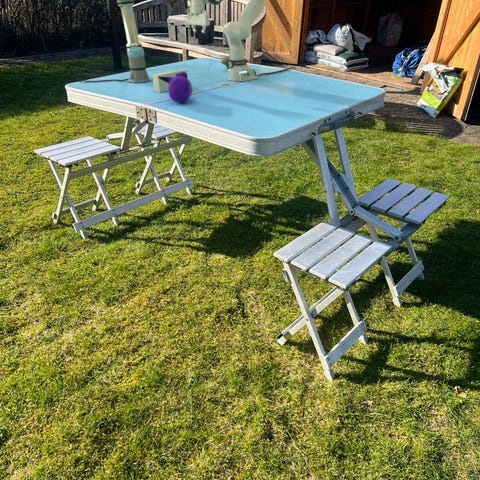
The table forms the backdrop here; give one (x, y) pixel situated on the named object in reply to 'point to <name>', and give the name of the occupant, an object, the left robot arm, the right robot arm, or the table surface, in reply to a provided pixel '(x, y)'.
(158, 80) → the box
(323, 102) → the table surface
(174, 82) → the toy
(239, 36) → the right robot arm
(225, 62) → the cream textured rounded piece
